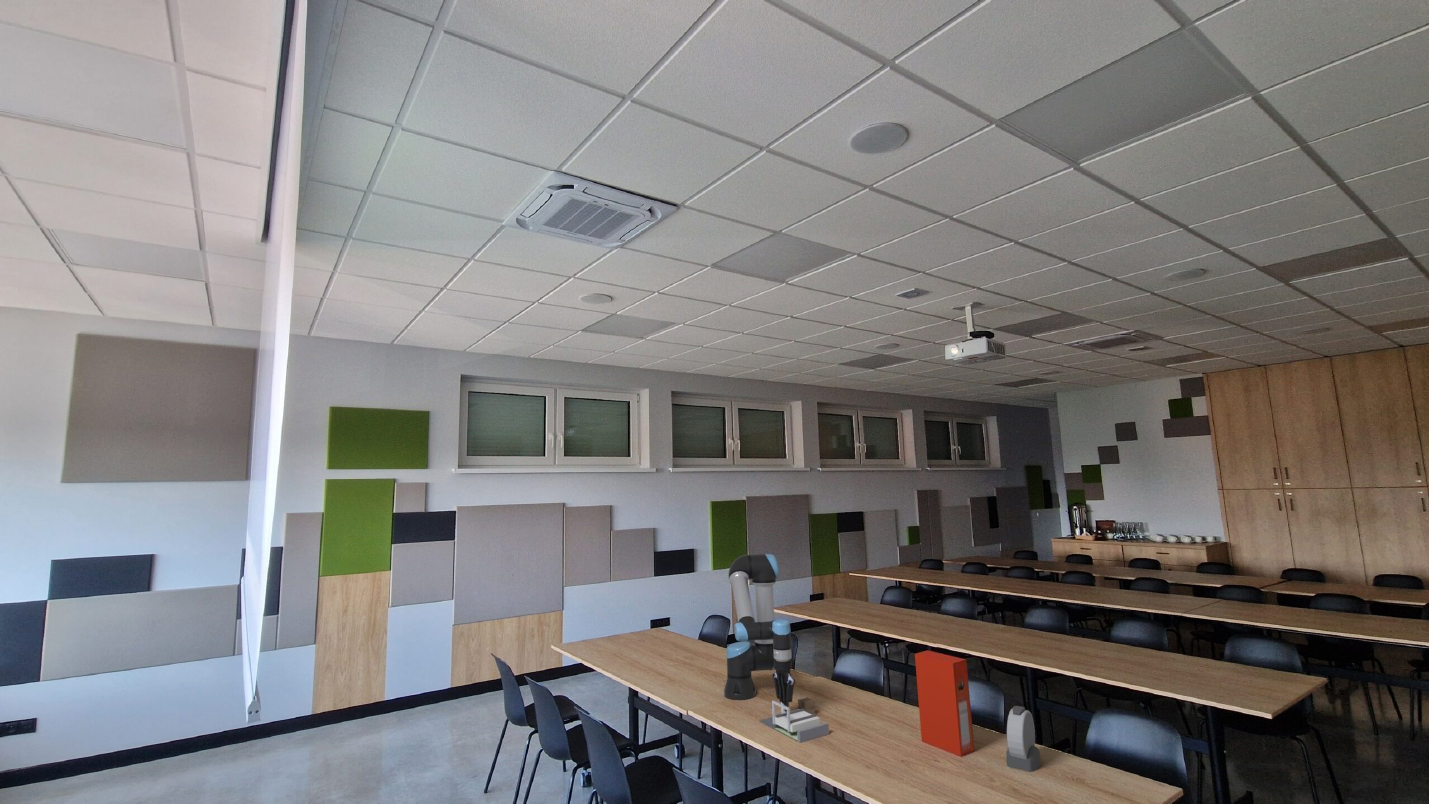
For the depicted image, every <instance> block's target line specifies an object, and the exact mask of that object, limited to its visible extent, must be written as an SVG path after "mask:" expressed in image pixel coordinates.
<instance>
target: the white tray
mask: <svg viewBox="0 0 1429 804" xmlns="http://www.w3.org/2000/svg"><path fill="white" fill-rule="evenodd" d="M776 706H778V707H780V708H781V707H782V708H784V709H786V710H787V712H786V713H782V714H781V713H779V714H776ZM771 714H772V717H773V724H776V726H777V728H781V727H783V728H785V729H787V730H788V732H790V734H791V735H794V734H795V732H796V731H797V730H801V729H804V728H808V727H811V726H815V725H819V724H821V718H820V717H819V716H817V714H816V713H815V714H813V715H812V714H810V713H807V712H805V711H803V709H798V708H797V709H795V710H791V708H790V706H789V707H787V706H784V705H782V704H780V702H777V701H775V700H771Z"/></svg>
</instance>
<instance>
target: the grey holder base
mask: <svg viewBox="0 0 1429 804" xmlns="http://www.w3.org/2000/svg"><path fill="white" fill-rule="evenodd" d="M758 722H759V723H762V724H763V725H765V726H767V727H770V728H771V729H773V730H775V731H777V732H779V733H781V734H782V735H785V737H789V738H790V739H792V740H794V741H796V742H798V743H799V744H800V743H805V742H808V741H811V740H814V739H819V738H822V737H824V736H829V735H830V729H829V727H830V726H829V723H828V722H822V723H820V724H819V725H815V726H811V727H808V728H804V729H801V730H797V731H796V732H795V734H794V735H791V734H790V732H788V730H787V729H785V728H783V727H781V728H777V726H776V724H773V716H772V717H768V718H764V719H759V720H758Z"/></svg>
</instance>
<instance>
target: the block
mask: <svg viewBox="0 0 1429 804" xmlns="http://www.w3.org/2000/svg"><path fill="white" fill-rule="evenodd" d="M815 702H816V701H815V700H814V699H812V698H809V697H803V698H800V699H797V704H798V705H797V707H798V708H797V710H798V709H803V711H805V712H807V713H810V714H812V715H813V714H816V703H815Z"/></svg>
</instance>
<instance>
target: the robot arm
mask: <svg viewBox="0 0 1429 804" xmlns="http://www.w3.org/2000/svg"><path fill="white" fill-rule="evenodd" d="M779 570H780V569H779V564H778V561H777V558H776V556H775V555H774V554H772V553H771V554H770V553H762V554H761V553H760V554H759V553H757V554H743V555H740V556H739V557H737V558H736V559H734V560H733V562H732V563H731V565H730V567H729V570H728V582H729V583H730V585H731V589H732V593H733V594H732V595H733V599H734V606H735V611H736V617H737V622H736V623H735V624H734V636H735V639H736V642H734V643H731V644H729V645H728V646H727V647H726V655H725V656H726V673H727V674H726V681H725V686H724V690H723V695H724V697H725V698H727V699H730V700H736V701H737V700H738V701H740V700H744V701H745V700H749V699H752V698H754V697H756V695H757V690H756V686H755V684H754V680H753V678H752V677H753V675H752V672H756V671H757V672H759V671H762V672H763V671H775V673H772V674H771V675H772V679H773V684H774V689H775V695H776V699H777V700H779V703H780V704H782V705H784V706H787V707H789V708H790V706H789V705H790V703H792V702H793V697H794V696H793V695H794V687H795V686H794V685H795V683H796V680H795V679H794V678H792V674H791V671H792V669H793V661H792V660H793V659H792V658H793V657H792V638H791V622H790V621H789V620H787V619H775V603H774V602H775V601H774V585H775V584H776V583H777V580H776V579H779V577H780V571H779ZM749 580H751V581H752V582H751V583H752V584H753V585H754V586H755V587H754V588H755V605H756V607H755V609H756V611H755V612H756V619H755V615H754V614H755V613H754V608H753V603H752V597H751V593H750V588H749V587H750V586H749V583H748V582H749ZM737 641H738V642H737ZM752 641H754V644H751V642H752ZM786 712H787V710H786V709H784V708H782V707H780V714H782V713H786Z"/></svg>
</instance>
